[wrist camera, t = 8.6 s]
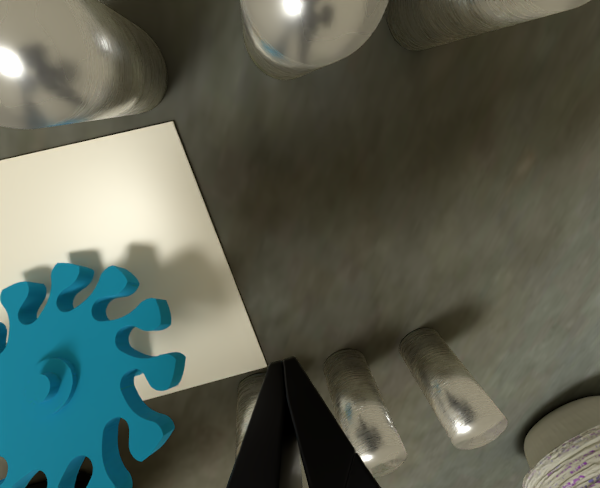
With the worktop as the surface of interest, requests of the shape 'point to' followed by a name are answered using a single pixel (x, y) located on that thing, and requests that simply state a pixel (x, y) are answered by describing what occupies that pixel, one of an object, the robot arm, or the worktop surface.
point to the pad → (130, 244)
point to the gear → (78, 379)
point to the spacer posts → (283, 66)
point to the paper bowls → (565, 447)
